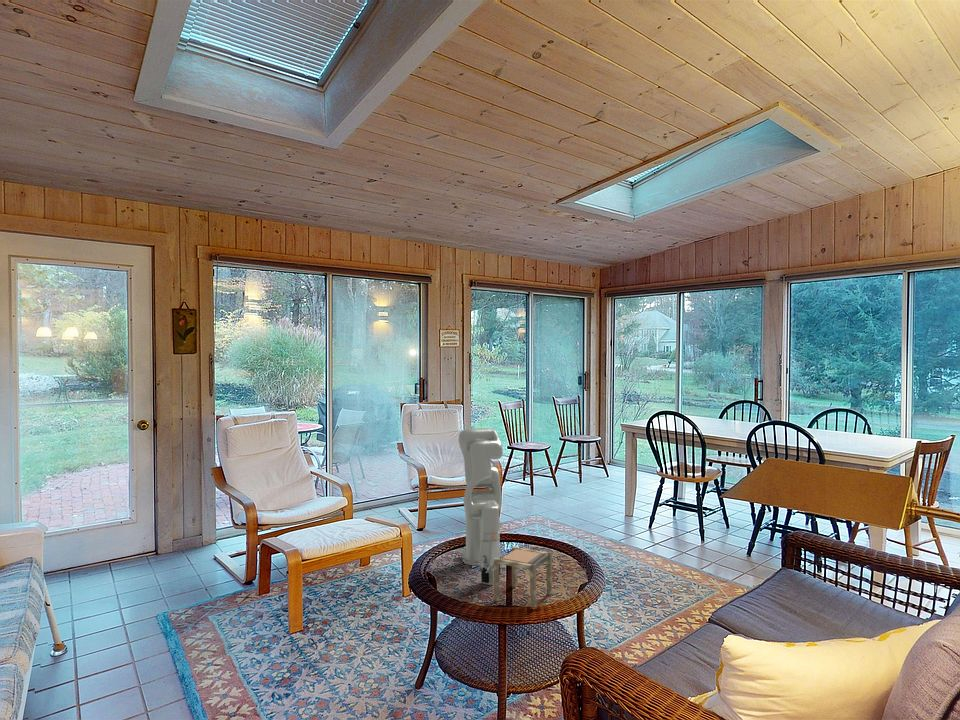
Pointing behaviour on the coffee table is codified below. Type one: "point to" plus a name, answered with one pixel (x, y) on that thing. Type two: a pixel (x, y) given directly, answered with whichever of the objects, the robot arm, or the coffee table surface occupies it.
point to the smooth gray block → (490, 575)
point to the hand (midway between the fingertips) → (490, 578)
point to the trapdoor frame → (532, 568)
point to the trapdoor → (523, 556)
